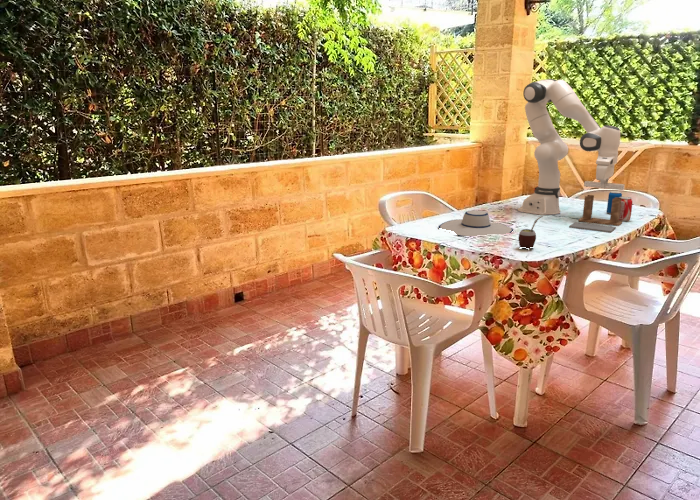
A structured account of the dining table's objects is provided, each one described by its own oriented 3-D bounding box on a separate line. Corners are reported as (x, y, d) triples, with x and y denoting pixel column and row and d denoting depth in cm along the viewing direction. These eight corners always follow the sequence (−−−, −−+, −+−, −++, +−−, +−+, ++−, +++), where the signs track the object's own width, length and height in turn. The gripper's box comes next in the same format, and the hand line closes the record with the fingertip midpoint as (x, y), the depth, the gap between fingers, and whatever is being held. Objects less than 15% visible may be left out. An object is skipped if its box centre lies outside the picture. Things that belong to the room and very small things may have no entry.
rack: (578, 221, 267) (581, 196, 264) (582, 218, 273) (585, 194, 270) (618, 226, 256) (621, 200, 252) (622, 223, 262) (625, 197, 258)
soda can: (632, 222, 263) (635, 199, 260) (617, 221, 264) (619, 198, 261) (627, 219, 270) (630, 196, 266) (613, 218, 271) (615, 196, 268)
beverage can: (606, 214, 281) (609, 192, 278) (606, 212, 287) (608, 190, 284) (620, 215, 279) (622, 193, 276) (619, 212, 285) (621, 191, 281)
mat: (569, 227, 255) (569, 225, 255) (575, 223, 263) (575, 222, 263) (610, 232, 244) (611, 231, 244) (615, 228, 251) (616, 226, 251)
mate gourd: (515, 246, 225) (517, 212, 220) (533, 246, 225) (535, 212, 221) (521, 251, 217) (524, 216, 213) (540, 250, 218) (543, 216, 214)
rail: (583, 186, 264) (584, 181, 263) (585, 185, 266) (586, 180, 266) (622, 190, 253) (623, 185, 253) (623, 189, 256) (624, 184, 255)
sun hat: (423, 229, 262) (423, 211, 260) (472, 219, 282) (473, 202, 279) (478, 243, 233) (479, 223, 231) (529, 231, 253) (530, 212, 251)
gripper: (605, 156, 265) (602, 183, 269) (595, 161, 250) (591, 189, 254) (619, 157, 262) (615, 184, 266) (609, 162, 246) (605, 190, 250)
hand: (603, 187), depth 260 cm, fingers closed on rail, 3 cm apart
